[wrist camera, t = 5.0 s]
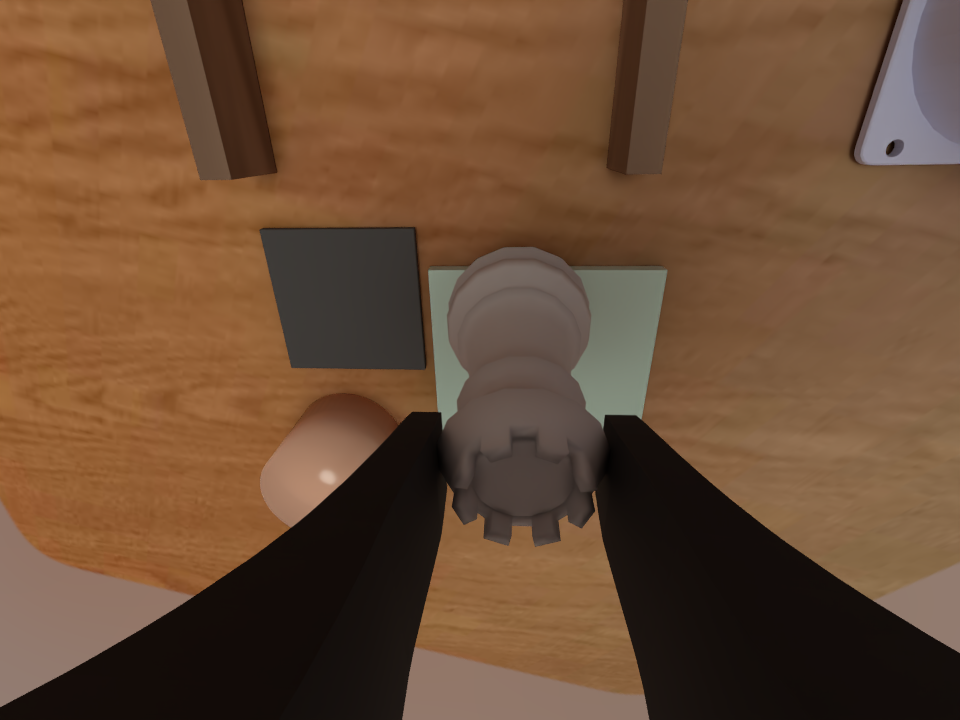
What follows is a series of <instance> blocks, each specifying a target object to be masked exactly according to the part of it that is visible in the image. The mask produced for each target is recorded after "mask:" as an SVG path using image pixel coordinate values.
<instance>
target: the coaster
mask: <svg viewBox="0 0 960 720" xmlns="http://www.w3.org/2000/svg"><path fill="white" fill-rule="evenodd" d="M468 267H469V266H430V268H429V269H428V276H429V290H430V304H431V319H432V333H433V347H434V361H435V376H436V390H437V404H438V412H441V415H442V428H443V429H444V426H445V424H446V422H447V420H448V419H449V418H450V417H451V416H453V415H454V414H455V413H456V412H457V399H458V397H459V394H460V392H461V390H462V388H463V385H464V383H465V381H466V380H467V379H468V378H469V374H468V372H467V371H466V370H465V369H464V368H463V367H462V366H461V364H460V362H459V360H458V359H457V357H456V355H455V353H454V351H453V349H452V347H451V345H450V343H449V337H448V323H447V314H448V311H449V307H448V302H449V300H450V297H451V294H452V292H453V289H454V286H455V284H456V281H457V279H458V278H459V276H460V275H461V274H462V273H463V272H464V271H465V270H466V269H467V268H468ZM570 267H571V268H572V270H573V271H574V272H575V273H576V274H577V275H578V276H579V277H580V278H581V280H582V283H583V286H584V289H585V292H586V294H587V297H588V300H589V309H590V312H591V325H590V334H589V342H588V345H587V348H586V349H585V351H584V353H583V354H582V356H581V358H580V360H579V361H578V363H577V365H576V366H575V368H574V369H573V370H571V376H572V377H573V378H574V379H575V380H576V381H577V382H578V383H579V386H580V388H581V391H582V393H583V396H584V398H585V401H586V408H585V409H586V410H587V411H588V412H589V413H590V414H591V415H593V416H594V417H595V418H596V419H597V420H598V421H599V422H600V423H601V426H602V428H603V426H604V418H605V415H637V416H638V417H639V418H640V419H642V414H643V408H644V402H645V396H646V391H647V385H648V379H649V374H650V368H651V362H652V356H653V351H654V345H655V339H656V333H657V328H658V322H659V316H660V310H661V305H662V299H663V293H664V288H665V282H666V276H667V269H666V268H664V267H663V266H570Z"/></svg>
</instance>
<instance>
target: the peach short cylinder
mask: <svg viewBox="0 0 960 720" xmlns="http://www.w3.org/2000/svg"><path fill="white" fill-rule="evenodd" d="M397 427H398V425H397V424H396V422H395V420H394V419H393V417H392V416H391V415H390V414H389V413H388V412H387V411H386V410H385V409H384V408H383V407H381V406H380V405H378V404H377V403H375V402H373V401H371V400H369V399H367V398H365V397H361V396H358V395H353V394H344V393H342V394H332V395H328V396H324V397H322V398H320V399H318V400H316V401H315V402H313V403H312V404H311V405H310V406H309V407H308V408H307V410H306V411H305V412H304V414H303V415H302V416H301V418H300V419H299V420H298V422H297V423H296V424H295V426H294V427H293V428H292V430H291V431H290V432H289V434H288V435H287V436H286V438H285V439H284V440H283V442H282V443H281V445H280V446H279V447H278V449H277V450H276V451H275V453H274V454H273V455H272V457H271V458H270V459H269V461H268V462H267V463H266V465H265V466H264V468H263V470H262V473H261V477H260V488H261V493H262V496H263V498H264V500H265V502H266V504H267V506H268V507H269V508H270V510H271V511H272V512H273V513H274V514H275V515H276V516H277V517H278V518H279V519H280V520H281V521H283V522H284V523H285V524H287V525H288V526H290V527H293V526H294V525H295V524H296V523H298V522H299V521H300V520H301V519H302V518H304V517H305V516H306V515H307V514H308V513H310V512H311V511H312V510H313V509H314V508H315V507H316V506H318V505H319V504H320V503H321V502H322V501H323V500H324V499H325V498H326V497H328V496H329V495H330V494H331V493H332V492H333V491H334V490H335V489H336V488H337V487H339V486H340V485H341V484H342V483H343V482H344V481H345V480H346V479H347V478H348V477H349V476H350V475H351V474H352V473H353V472H354V471H355V470H356V469H357V468H358V467H359V466H360V465H361V464H362V463H363V462H364V461H365V460H366V459H367V458H368V457H369V456H370V455H371V454H372V453H373V452H374V451H375V450H376V449H377V448H378V447H379V446H380V445H381V444H382V443H383V442H384V441H385V440H386V439H387V438H388V437H389V435H390V434H391V433H392V432H393V431H394V430H395V429H396V428H397Z"/></svg>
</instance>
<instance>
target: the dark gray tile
mask: <svg viewBox="0 0 960 720" xmlns="http://www.w3.org/2000/svg"><path fill="white" fill-rule="evenodd" d="M260 234H261V239H262V243H263V247H264V251H265V256H266V260H267V264H268V269H269V273H270V277H271V281H272V286H273V290H274V294H275V299H276V303H277V307H278V312H279V316H280V320H281V324H282V329H283V333H284V337H285V342H286V346H287V350H288V354H289V359H290V363H291V367H292V368H343V369H414V370H425V368H426V358H425V346H424V333H423V321H422V308H421V296H420V283H419V271H418V258H417V246H416V233H415V227H391V228H263V229H260Z"/></svg>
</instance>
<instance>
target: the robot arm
mask: <svg viewBox="0 0 960 720" xmlns="http://www.w3.org/2000/svg"><path fill="white" fill-rule="evenodd" d="M892 141H894V143H895V145H894V149H893V151H892V152H891V153H890V154H889V155H887V154H886V148H887V146H888V144H889V143H891V142H892ZM854 156H855V159H856V161H857V162H858V163H860V164H864V165H926V164H960V0H903V2H902V5H901V9H900V12H899V15H898V18H897V21H896V24H895V27H894V30H893V33H892V36H891V39H890V42H889V45H888V48H887V52H886V55H885V58H884V61H883V64H882V67H881V70H880V73H879V76H878V79H877V82H876V85H875V88H874V91H873V95H872V98H871V101H870V104H869V107H868V110H867V113H866V116H865V119H864V122H863V125H862V128H861V131H860V134H859V138H858V141H857V144H856V147H855V152H854ZM442 431H443V428H442V415H441V412H412V413H410V414H409V415H408V416H407V417H406V418H405V419H404V420H403V421H402V423H401V424H400V425H399V426H398V427H397V428H396V429H395V430H394V431H393V432H392V433H391V434H390V435H389V437H388V438H387V439H386V440H385V441H384V442H383V443H382V444H381V445H380V446H379V447H378V448H377V449H376V450H375V451H374V452H373V453H372V454H371V455H370V456H369V457H368V458H367V459H366V460H365V461H364V462H363V463H362V464H361V465H360V466H359V467H358V468H357V469H356V470H355V471H354V472H353V473H352V474H351V475H350V476H349V477H348V478H347V479H346V480H345V481H344V482H343V483H342V484H341V485H340V486H339V487H337V488H336V489H335V490H334V491H333V492H332V493H331V494H330V495H329V496H328V497H326V498H325V499H324V500H323V501H322V502H321V503H320V504H319V505H318V506H316V507H315V508H314V509H313V510H312V511H311V512H310V513H308V514H307V515H306V516H305V517H304V518H302V519H301V520H300V521H299V522H298V523H296V524H295V525H294V526H293V527H292V528H290V529H289V530H288V531H286V532H285V533H284V534H282V535H281V536H280V537H278V538H277V539H276V540H275V541H273V542H272V543H271V544H269V545H268V546H267V547H265V548H264V549H263V550H261V551H260V552H259V553H257V554H256V555H254V556H253V557H252V558H250V559H249V560H247V561H246V562H244V563H243V564H241V565H240V566H239V567H237V568H236V569H234V570H233V571H231V572H230V573H228V574H227V575H225V576H224V577H222V578H221V579H219V580H218V581H216V582H215V583H213V584H212V585H210V586H209V587H207V588H206V589H204V590H203V591H201V592H200V593H199V594H197V595H196V596H194V597H193V598H191V599H190V600H188V601H187V602H185V603H183V604H182V605H180V606H179V607H177V608H176V609H174V610H172V611H171V612H169V613H167V614H166V615H164V616H162V617H161V618H159V619H157V620H156V621H154V622H153V623H151V624H150V625H148V626H146V627H144V628H143V629H141V630H139V631H138V632H136V633H134V634H133V635H131V636H129V637H127V638H126V639H124V640H122V641H121V642H119V643H117V644H116V645H114V646H112V647H110V648H109V649H107V650H105V651H103V652H102V653H100V654H98V655H97V656H95V657H93V658H91V659H89V660H88V661H86V662H84V663H82V664H80V665H79V666H77V667H75V668H73V669H72V670H70V671H68V672H66V673H64V674H63V675H61V676H59V677H57V678H55V679H53V680H51V681H49V682H47V683H45V684H44V685H42V686H40V687H38V688H36V689H34V690H32V691H30V692H28V693H26V694H25V695H23V696H21V697H19V698H17V699H15V700H13V701H11V702H10V703H8V704H6V705H4V706H2V707H0V720H402V716H403V710H404V703H405V697H406V690H407V684H408V677H409V671H410V667H411V662H412V657H413V652H414V647H415V643H416V638H417V634H418V630H419V626H420V622H421V618H422V614H423V609H424V605H425V601H426V597H427V593H428V589H429V585H430V581H431V576H432V572H433V568H434V564H435V560H436V556H437V551H438V547H439V543H440V538H441V534H442V526H443V519H444V511H445V502H446V493H447V482H446V480H445V479H444V477H443V475H442V474H441V472H440V470H439V460H438V450H437V442H438V440H439V438H440V436H441V433H442ZM603 431H604V433H605V436H606V438H607V441H608V444H609V446H610V454H609V460H608V467H607V473H606V475H605V476H604V478H603V479H602V481H601V482H600V483H599V485H598V486H597V488H598V490H597V491H596V492H595V493H596V500H597V507H598V514H599V520H600V526H601V532H602V538H603V542H604V546H605V550H606V553H607V557H608V560H609V564H610V568H611V571H612V575H613V578H614V582H615V585H616V589H617V592H618V596H619V599H620V603H621V606H622V610H623V613H624V617H625V620H626V624H627V627H628V631H629V635H630V638H631V642H632V645H633V649H634V652H635V656H636V660H637V664H638V668H639V672H640V676H641V680H642V684H643V689H644V694H645V699H646V704H647V709H648V715H649V719H650V720H960V653H959V652H957V651H955V650H953V649H952V648H950V647H948V646H946V645H945V644H943V643H941V642H940V641H938V640H936V639H934V638H933V637H931V636H929V635H928V634H926V633H925V632H923V631H921V630H920V629H918V628H916V627H915V626H913V625H912V624H910V623H908V622H907V621H905V620H903V619H902V618H900V617H899V616H897V615H895V614H894V613H892V612H890V611H889V610H887V609H885V608H884V607H882V606H880V605H879V604H877V603H876V602H874V601H872V600H871V599H869V598H868V597H866V596H865V595H863V594H861V593H860V592H858V591H857V590H855V589H854V588H852V587H851V586H849V585H848V584H846V583H844V582H843V581H841V580H840V579H838V578H837V577H835V576H834V575H832V574H831V573H830V572H828V571H827V570H825V569H824V568H822V567H821V566H819V565H818V564H817V563H815V562H814V561H812V560H811V559H809V558H808V557H806V556H805V555H804V554H802V553H801V552H799V551H798V550H796V549H795V548H794V547H792V546H791V545H789V544H788V543H786V542H785V541H784V540H782V539H781V538H780V537H778V536H777V535H776V534H774V533H773V532H771V531H770V530H769V529H767V528H766V527H765V526H764V525H762V524H761V523H760V522H758V521H757V520H756V519H755V518H753V517H752V516H751V515H750V514H748V513H747V512H746V511H745V510H743V509H742V508H741V507H739V506H738V505H737V504H736V503H734V502H733V501H732V500H731V499H729V498H728V497H727V496H726V495H725V494H723V493H722V492H721V491H720V490H719V489H717V488H716V487H715V486H714V485H713V484H712V483H710V482H709V481H708V480H707V479H706V478H705V477H703V476H702V475H701V474H700V473H699V472H698V471H697V470H696V469H694V468H693V467H692V466H691V465H690V464H689V463H688V462H687V461H685V460H684V459H683V458H682V457H681V456H680V455H679V454H678V453H677V452H676V451H675V450H673V449H672V448H671V447H670V446H669V445H668V444H667V443H666V442H665V441H664V440H663V439H662V438H661V437H659V436H658V435H657V434H656V433H655V432H654V431H653V430H652V429H651V428H650V427H649V426H648V425H647V424H646V423H644V422H643V421H642V420H641V419H640V418H639V417H638V416H637V415H605V418H604V426H603Z"/></svg>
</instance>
